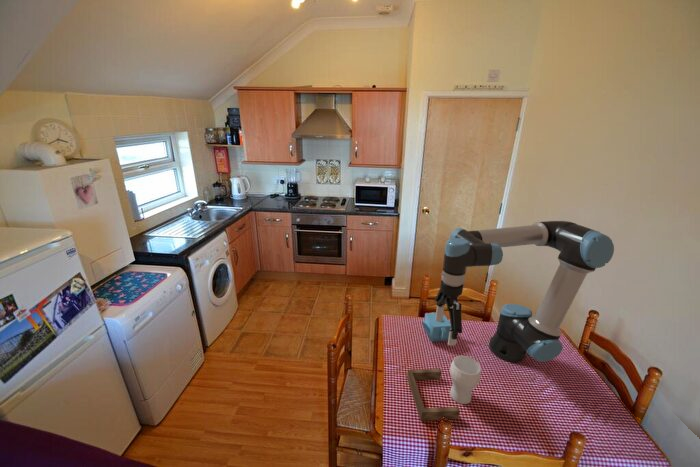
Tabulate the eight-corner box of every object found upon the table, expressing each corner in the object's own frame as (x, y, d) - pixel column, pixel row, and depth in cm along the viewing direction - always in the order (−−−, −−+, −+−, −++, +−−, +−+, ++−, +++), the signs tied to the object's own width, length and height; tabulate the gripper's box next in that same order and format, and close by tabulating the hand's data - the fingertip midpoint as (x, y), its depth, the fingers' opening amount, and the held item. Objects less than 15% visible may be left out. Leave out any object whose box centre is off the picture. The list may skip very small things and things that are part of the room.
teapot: (414, 327, 153) (416, 308, 149) (448, 325, 155) (451, 306, 151) (425, 348, 138) (427, 328, 135) (462, 346, 140) (466, 326, 137)
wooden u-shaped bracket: (439, 376, 123) (440, 368, 122) (458, 419, 105) (459, 410, 104) (406, 377, 122) (407, 370, 121) (420, 420, 104) (421, 412, 103)
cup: (477, 410, 109) (485, 378, 104) (447, 404, 111) (453, 373, 106) (472, 387, 119) (479, 356, 114) (444, 382, 121) (450, 352, 116)
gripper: (430, 266, 116) (425, 312, 123) (455, 302, 93) (447, 356, 100) (449, 265, 116) (443, 312, 124) (479, 301, 93) (469, 355, 100)
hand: (445, 332), depth 112 cm, fingers open, 13 cm apart
